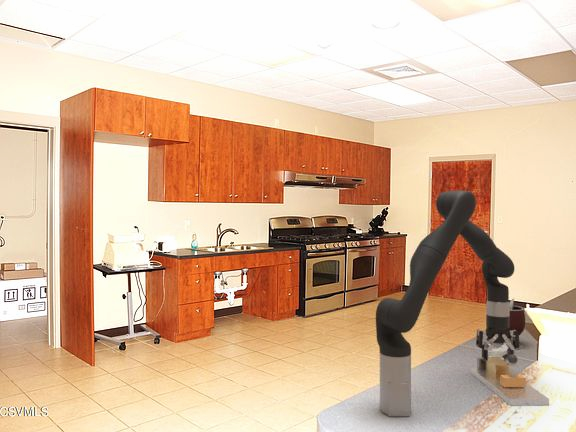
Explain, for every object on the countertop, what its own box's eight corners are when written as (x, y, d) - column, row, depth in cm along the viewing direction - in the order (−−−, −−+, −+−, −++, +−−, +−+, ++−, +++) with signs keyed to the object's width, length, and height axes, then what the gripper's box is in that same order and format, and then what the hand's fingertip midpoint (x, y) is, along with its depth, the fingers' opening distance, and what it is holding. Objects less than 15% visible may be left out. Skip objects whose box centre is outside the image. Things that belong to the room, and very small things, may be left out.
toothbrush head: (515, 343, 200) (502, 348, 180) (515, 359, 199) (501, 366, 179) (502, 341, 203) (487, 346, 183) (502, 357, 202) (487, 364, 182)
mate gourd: (520, 351, 200) (520, 305, 200) (487, 346, 209) (486, 301, 210) (530, 344, 212) (529, 300, 212) (497, 339, 221) (497, 296, 221)
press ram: (525, 387, 153) (525, 355, 153) (504, 387, 153) (504, 355, 153) (521, 383, 156) (520, 353, 156) (500, 383, 156) (499, 353, 156)
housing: (510, 379, 161) (510, 364, 161) (495, 379, 161) (495, 365, 161) (499, 371, 169) (499, 357, 169) (485, 371, 169) (485, 358, 169)
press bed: (549, 405, 144) (548, 385, 144) (510, 405, 144) (510, 385, 144) (503, 372, 174) (503, 356, 174) (470, 372, 174) (470, 356, 174)
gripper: (482, 315, 161) (481, 363, 161) (523, 316, 161) (523, 363, 161) (473, 311, 168) (473, 356, 168) (512, 311, 168) (512, 356, 168)
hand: (497, 359), depth 165 cm, fingers open, 8 cm apart
